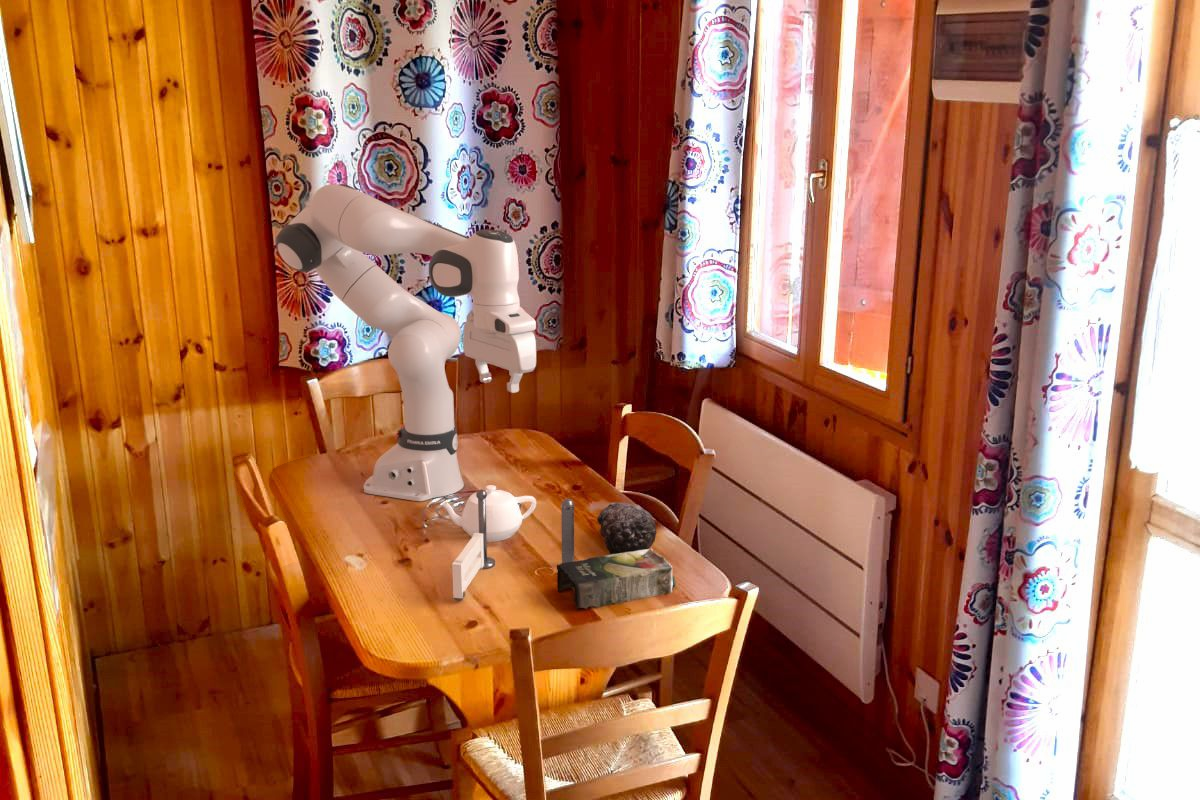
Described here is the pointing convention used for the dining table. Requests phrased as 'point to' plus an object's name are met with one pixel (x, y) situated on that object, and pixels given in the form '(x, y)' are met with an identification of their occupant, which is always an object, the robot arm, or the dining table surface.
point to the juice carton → (616, 578)
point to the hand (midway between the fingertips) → (499, 386)
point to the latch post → (567, 530)
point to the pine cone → (626, 528)
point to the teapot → (493, 514)
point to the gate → (467, 565)
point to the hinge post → (483, 526)
